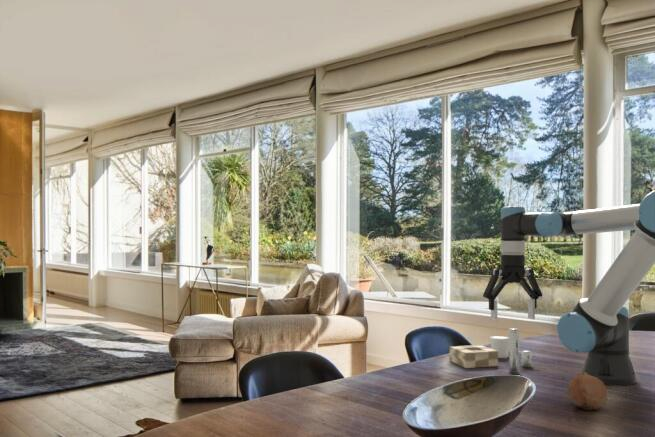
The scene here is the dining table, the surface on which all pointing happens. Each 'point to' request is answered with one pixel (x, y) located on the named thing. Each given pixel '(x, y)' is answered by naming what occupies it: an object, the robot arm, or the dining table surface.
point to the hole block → (473, 356)
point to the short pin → (526, 358)
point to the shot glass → (500, 345)
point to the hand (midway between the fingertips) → (512, 319)
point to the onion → (587, 391)
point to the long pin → (513, 350)
